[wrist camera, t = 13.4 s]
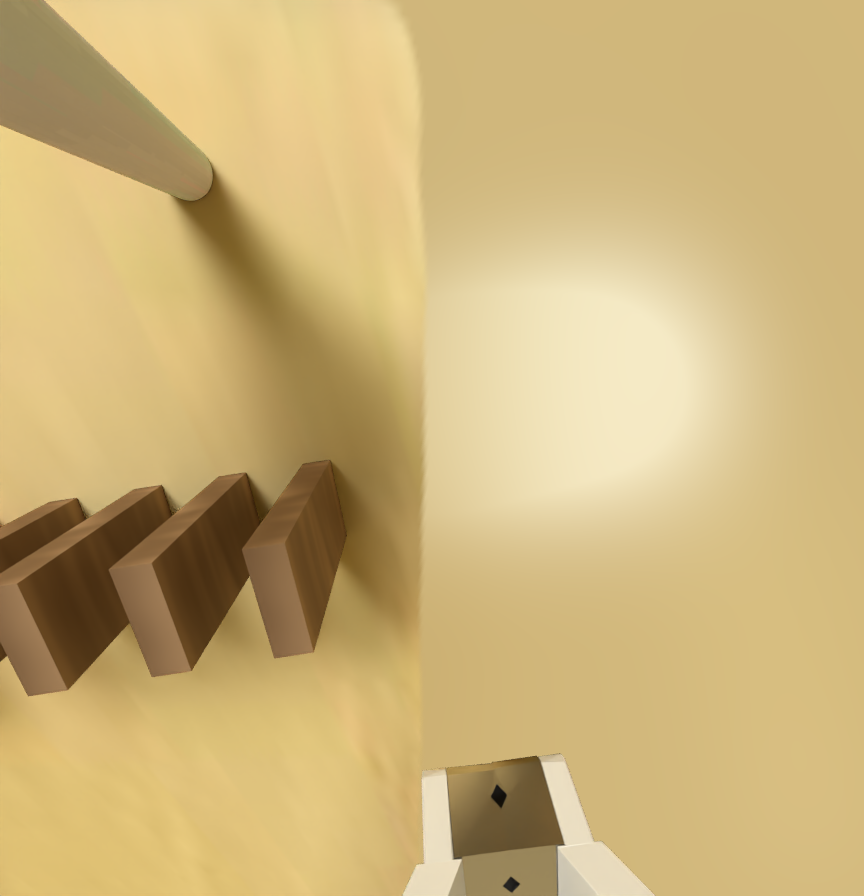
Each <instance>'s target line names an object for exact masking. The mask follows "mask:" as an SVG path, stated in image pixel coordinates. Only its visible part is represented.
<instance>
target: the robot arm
mask: <svg viewBox="0 0 864 896" xmlns="http://www.w3.org/2000/svg"><path fill="white" fill-rule="evenodd" d="M422 811H423V847H424V863H422V864H416V867H415V869H414V871H413V873H412V875H411V877H410V879H409V882H408V884H407V886H406V888H405V890H404V892H403V894H402V896H655V895H654V894H653V893H652V892H651V891H650V890H649V889H648V888H647V887H646V886H645V885H644V883H642V881H640V880H639V878H638V877H637V876H636V875H635V874H634V873H633V872H632V871H631V870H630V869H629V868H628V867H627V866H626V865H625V864H624V863H623V862H622V861H621V860H620V859H619V858H618V857H617V856H616V855H615V854H614V853H613V852H612V851H611V850H610V849H609V848H608V847H607V846H606V845H605V843H604V842H603V841H594V839H593V836H592V833H591V830H590V828H589V825H588V822H587V819H586V816H585V814H584V811H583V808H582V805H581V802H580V800H579V797H578V794H577V791H576V788H575V786H574V782H573V780H572V777H571V774H570V771H569V768H568V766H567V763H566V760H565V758H564V757H563V755H562V754H560V753H559V754H553V755H547V756H539V757H537V756H532V757H525V758H518V759H511V760H504V761H497V762H492V763H489V764H479V765H468V766H459V767H450V768H447V771H446V768H439V769H430V770H423V771H422Z"/></svg>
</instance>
